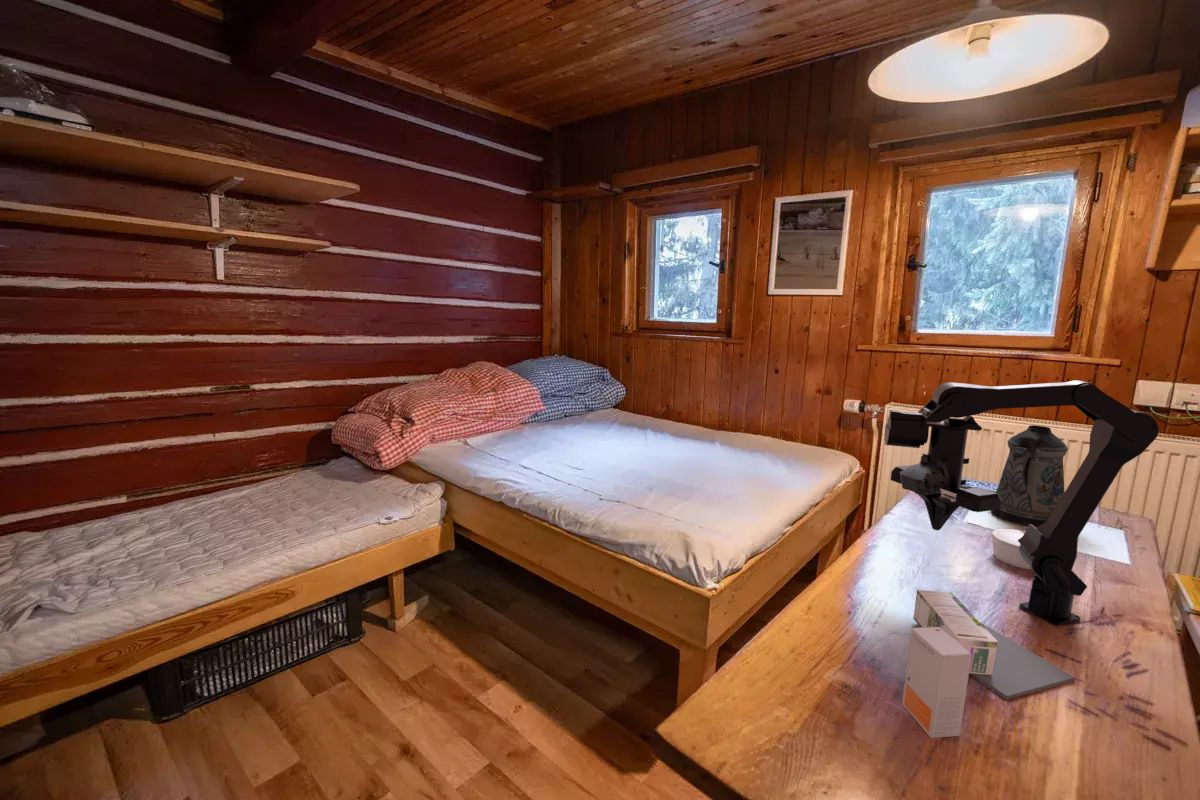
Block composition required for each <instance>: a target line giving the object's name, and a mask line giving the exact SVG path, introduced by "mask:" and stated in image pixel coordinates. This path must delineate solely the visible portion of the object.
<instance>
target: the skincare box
mask: <svg viewBox="0 0 1200 800" xmlns="http://www.w3.org/2000/svg"><path fill="white" fill-rule="evenodd" d="M910 634H911V635H910V640H909V648H908V655H907V663H906V672H905V680H904V687H903V694H902V701H901V702H902V704H901V706H903V707H904V708H905V709H906V710H907V712H908V713H909V714H910V715H911V716H912V718H914V720H915V721H916V722H917V723H918V724H919V726H921V728H922V730H923V731H925V733H926V734H927V735H928V737H930V738H931V739H934V738H947V737H948V738H949V737H952V738H953V737H959V736H960V735H961V731H962V729H961V728H962V722H963V716H964V709H965V701H966V695H967V689H968V682H969V676H970V674H969V670H970V664H971V658H972V654H971V653H970V652H968V651H967V650H966V649H965V648H964V647H962V646H961V645H960V644H959V642H958V641H956V640H955V639H954V638H952V637H951V636H949V635H948V634H947V633H946V632H945V631H943V630H942V629H941V628H940V627H923V628H920V627H913V628H911V632H910Z"/></svg>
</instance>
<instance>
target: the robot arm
mask: <svg viewBox="0 0 1200 800" xmlns="http://www.w3.org/2000/svg"><path fill="white" fill-rule="evenodd" d="M1064 406H1065V407H1066V406H1074V407H1076V408H1077V409H1078V410H1079V411H1080V412H1081V413H1082V414H1083V415H1085V416H1086V417H1088V418H1089V419H1090V420H1091V421H1093V425H1092V427H1091V431H1090V434H1089V449H1088V453H1087V455H1086V456H1085V458H1084V459H1083V460H1082V463H1081V464H1080V466H1079V468H1078V469H1077V472H1076V473H1075V475H1074V476H1073V478H1072V479H1071V481H1070V483H1069V485H1068V486H1067V488H1066V490H1065V493H1064V494H1063V496H1062V498H1061V499H1060V501H1059V503H1058V504H1057V506H1056V508H1055V509H1054V511H1053V513H1052V514H1051V516H1050V518H1049V519H1048V520H1047V521H1046V522H1045V523H1044V524H1042V525H1040V526H1039V527H1035V526H1033V525H1032V524H1029V525H1028V526H1026V529H1025V530H1024V531H1025V534H1024V535H1023V536H1022V537H1021V538H1020V539H1019V540H1018V542H1019V543H1020V547H1019V552H1020V554H1021V556H1022V558H1023V559H1024V560H1025V562H1026V563H1027V564H1028V565H1029V566H1030V569H1031V571H1032V572H1033V573H1034V576H1033V579H1032V584H1031V588H1030V593H1029V598H1028V601H1025V602H1021V603H1019V604H1018V605H1019V608H1021V609H1023V610H1025V611H1028V612H1029V613H1031V614H1033V615H1034V616H1036V617H1039V618H1041V619H1043V620H1045V621H1047V622H1049V623H1050V624H1052V625H1055V626H1060V625H1064V624H1069V623H1072V622H1078V621H1080V620H1081V616H1080V615H1077V614H1076V613H1073V612H1072V609H1073V604H1074V603H1073V602H1074V598H1075V596H1082V595H1083V594H1084V592H1085V591H1086V589H1087V588H1088V586H1087V584H1086V583H1085V582H1084V581H1083V580H1082V578H1080V577H1079V576H1078V575H1077V574H1076V573H1075V572H1074V571H1073V568H1074V566H1075V562H1076V559H1077V557H1078V542H1079V536H1080V535H1081V533H1082V531H1083V530H1084V528H1085V527H1086V525H1087V523H1088V522H1089V520H1090V519H1091V518H1092V516H1093V514H1094V513H1095V511H1096V509H1097V508H1098V506H1099V504H1100V502H1101V501H1102V500H1103V498H1104V496H1105V495H1106V493H1107V491H1108V490H1109V488H1110V486H1111V485H1112V484H1113V482H1114V480H1116V478H1117V476H1118V474H1119V473H1120V471H1121V469H1122V468H1123V466H1124V465H1126V464H1127V463H1129V462H1131V461H1132V460H1135V458H1137V457H1139V456H1140V455H1142V454H1143V453H1144V452H1145V451H1146V450H1147V449H1148V448H1149V446H1150V445H1151V444H1152V443H1154V441H1155V440H1156V439H1157V438H1158V436H1159V433H1160V428H1161V427H1160V426H1159V424H1158V423H1157V421H1156V419H1155V418H1154V417H1153V416H1151V415H1149V414H1147V413H1146V412H1142V411H1138V410H1134V409H1131V408H1130V407H1128V406H1126V405H1125V404H1123V403H1121V402H1120V401H1118V400H1117V399H1115V398H1113V397H1112V396H1110V395H1108V394H1106V393H1105V392H1104V391H1102V390H1101V389H1099V387H1098V386H1097V385H1096V384H1093V383H1090V382H1087V381H1085V380H1076V379H1075V380H1071V381H1065V382H1064V381H1062V382H1047V383H1032V384H1031V383H1028V384H1014V385H1012V384H1011V385H995V386H991V385H979V384H972V383H964V382H963V383H962V382H961V383H960V382H944V383H942V384H940V385H939V386H937V387H936V388H935V390H934V391H933V393H932V398H931V399H930V400H929V401H928V402H927V403H926V404H924V406H923V407H921V408H920V409H919V410H918V412H911V411H909V412H908V411H900V410H895V409H890V410H889V413H888V417H887V420H886V424H885V427H884V445H885V446H891V447H892V446H893V447H903V448H912V449H913V448H915V449H919V448H921V446H925V444H927V442H928V440H929V443H928V451H927V452H926V453H922V456H921V457H920V462H919V463H917V464H913V465H912V464H910V465H898V466H894V468H893V469H892V470H891V472H890V481H892V482H895V483H897V484H901V487H902V489H903V490H905V491H906V490H907V491H911V492H913V493H915V494H916V495H918V496H919V497H920V498H921V499H922V500H923V502H924V504H925V507H926V510H927V514H928V518H929V522H930V524H931V529H932V530H935V531H940V530H941V529H942V528H943V527H944V525H945V524H946V523H947V522H948V520H949V519H950V518H951V516H952V515H953V514H954V513H955V512H956V510H957V509H958V508H959V507H960V508H963V509H965V510H968V511H971V512H973V513H974V512H975V513H983V512H990V511H991V512H992V510H999V509H1000V506H1001V498H1000V496H999V495H998V494H997V493H995V491H991V490H988V489H985V488H982V487H979V486H978V487H971V488H964V487H961V486H966V485H967V479H965V478H963V468H964V465H968V464H969V462H970V457H966V456H965V455H966V454H965V453H966V446H967V441H968V440H967V439H968V438H967V437H968V431H983V427H982V426H981V425H980V424H978V423H977V421H976V420H975V418H974V416H975V415H981V414H984V413H987V412H989V411H995V410H999V409H1000V410H1001V409H1020V408H1021V409H1023V408H1044V407H1064ZM929 428H930V429H929ZM929 431H930V435H929Z"/></svg>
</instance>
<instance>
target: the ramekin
mask: <svg viewBox="0 0 1200 800" xmlns="http://www.w3.org/2000/svg"><path fill="white" fill-rule="evenodd" d="M1025 531H1026V530H1024V531H1023V530H1019V529H1012V528H999V529H998V528H997V529H994V530H993V531H991V538H992V551H993V554H994V556H995V557H996V559H998V560H999V561H1001V562H1003V563H1005V564H1007V565H1010V566H1013V567H1016V568H1020V569H1025V570H1029V571H1030V570H1031V569H1030V566H1029V565H1028V564H1027V563H1026V562H1025V560H1024V559H1023V558H1022V556H1021V554H1020V552H1019V547H1020V543H1019V542H1018V540H1019V539H1020V538H1021V537H1022V536H1023V535H1024V534H1025ZM1031 571H1032V570H1031Z"/></svg>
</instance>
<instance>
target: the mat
mask: <svg viewBox="0 0 1200 800" xmlns="http://www.w3.org/2000/svg"><path fill="white" fill-rule="evenodd" d="M979 622H980V623H981V624H982V625H983V626H984V627H985V628H986V629H987V630H988V632H989V633H990V634H991V635H992V636H993V637H994V638H995V639H996V640H997V641H998V643H997V648H996V654H995V660H994V666H993V671H992V675H984V674H973V673H969V676H971V677H972V678H974V679H975V680H977V681H979V682H980V683H981V684H982V685H984V686H985V687H987V688H989V689H990V690H992V691H993V692H994V693H995V694H997V695H999V696H1000V697H1001V698H1003V699H1004V700H1005V701H1007V700H1010V699H1015V698H1017V697H1021V696H1025V695H1029V694H1032V693H1036V692H1039V691H1044V690H1047V689H1051V688H1054V687H1057V686H1061V685H1066V684H1068V683H1073V682H1075V681H1076V676H1074V675H1072V674H1070V673H1068V671H1065V670H1063V669H1061V668H1060V667H1058V666H1056V665H1055V664H1053V663H1051V662H1049V660H1046V659H1045V658H1042V657H1041V656H1039V655H1038V654H1035V653H1034V652H1033V651H1031V650H1029V649H1027V648H1025V647H1024V646H1022V645H1020V644H1018V643H1017V642H1015V641H1014V640H1012V639H1011V638H1009V637H1006V636H1005V635H1003V634H1001V633H1000V632H998V631H996V630H994V629H993V628H991V627H989V626H988V625H986V624H984V623H983V622H981V621H979Z"/></svg>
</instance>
